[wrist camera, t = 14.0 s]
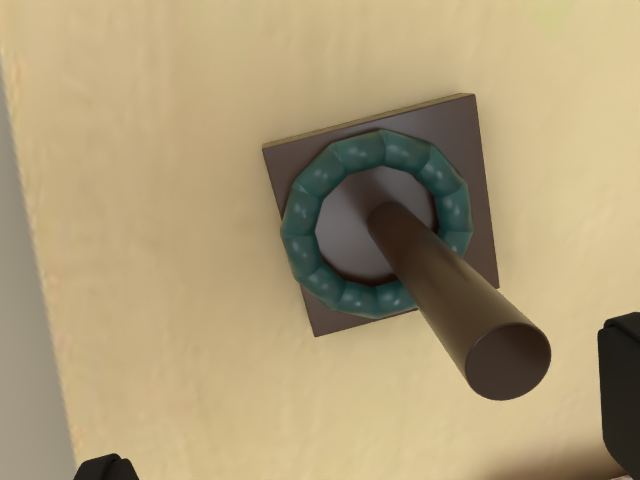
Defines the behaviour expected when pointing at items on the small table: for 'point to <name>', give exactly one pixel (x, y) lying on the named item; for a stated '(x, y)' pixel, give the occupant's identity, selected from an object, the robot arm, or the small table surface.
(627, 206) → the small table surface
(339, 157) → the ring
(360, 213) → the stand
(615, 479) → the pencil case
